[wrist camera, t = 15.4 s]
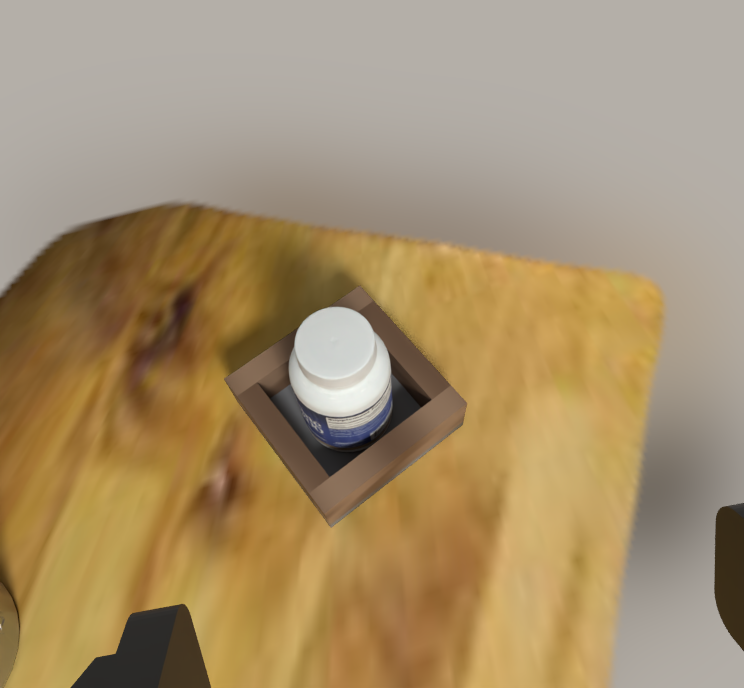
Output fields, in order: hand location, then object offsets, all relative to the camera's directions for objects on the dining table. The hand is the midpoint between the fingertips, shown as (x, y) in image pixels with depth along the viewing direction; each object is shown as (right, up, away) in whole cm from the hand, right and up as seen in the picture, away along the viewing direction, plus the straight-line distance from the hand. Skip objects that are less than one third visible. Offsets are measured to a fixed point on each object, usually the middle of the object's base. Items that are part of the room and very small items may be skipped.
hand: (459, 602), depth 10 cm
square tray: (-3, 0, +33) cm, 33 cm away
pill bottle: (-3, 0, +32) cm, 32 cm away
